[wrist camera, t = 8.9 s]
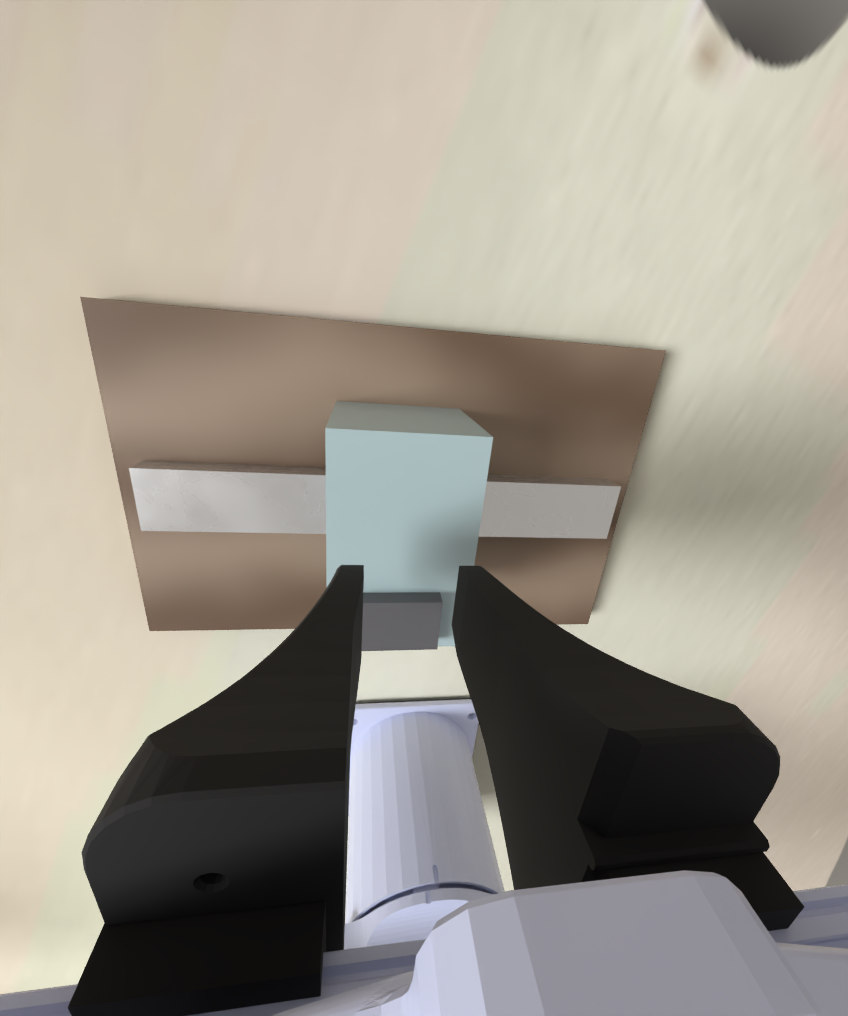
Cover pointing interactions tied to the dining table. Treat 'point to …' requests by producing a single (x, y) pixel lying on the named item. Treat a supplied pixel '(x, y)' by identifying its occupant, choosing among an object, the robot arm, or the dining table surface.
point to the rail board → (302, 458)
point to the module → (404, 514)
